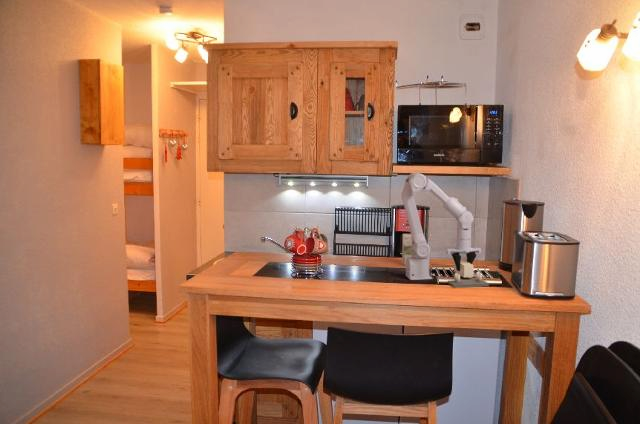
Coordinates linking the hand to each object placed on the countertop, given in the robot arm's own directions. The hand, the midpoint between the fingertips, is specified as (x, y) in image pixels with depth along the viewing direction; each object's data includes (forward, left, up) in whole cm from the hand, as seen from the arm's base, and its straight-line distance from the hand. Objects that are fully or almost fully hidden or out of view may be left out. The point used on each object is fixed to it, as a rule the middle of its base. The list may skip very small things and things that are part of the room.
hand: (463, 270), depth 208 cm
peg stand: (-3, -12, -3) cm, 13 cm away
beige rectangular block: (0, 0, -2) cm, 2 cm away
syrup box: (-16, +26, -3) cm, 31 cm away
